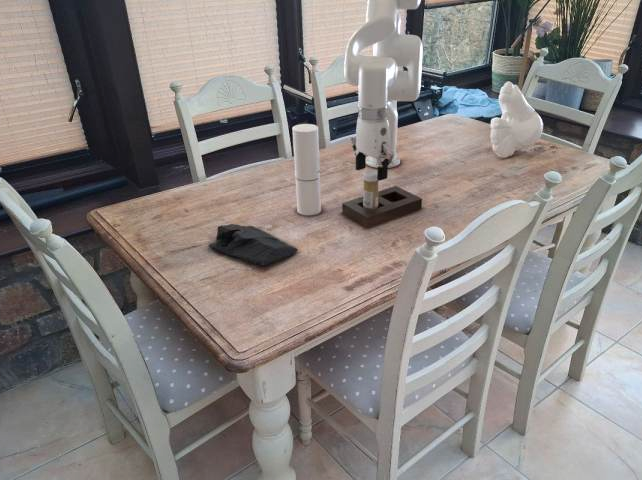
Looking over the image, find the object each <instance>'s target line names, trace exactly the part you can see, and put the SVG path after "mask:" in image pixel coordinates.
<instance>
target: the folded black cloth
mask: <svg viewBox="0 0 642 480" xmlns="http://www.w3.org/2000/svg"><path fill="white" fill-rule="evenodd" d="M216 229H217V231H216V232H217V233H216V237H215V241H212V242H211V243H210V244H208V248H211V250H216V251H218V252H220V253H223V255H227V256H230V257H235V258H238V259H240V260H243V261H245V262H246V261H247V262H249V263H251V264H255V265H256V266H259V265H261V266H267V265H269V264H272V263H274V262H276V261H279V260H282V259H285V258H287V257H290V256H293V255H294V254H295V253H296V252H297V251H299V249H298V248H297V247H294V246H292V245H289V244H287V243H286V242H284V241H282V240H280V239H278V238H277V237H276V236H273V235H272V234H270V233H269V232H266V231H264V230H261V229H260V228H258V227H255V226H254V225H240V224H235V223H230V224H225V225H218V226H217V228H216Z"/></svg>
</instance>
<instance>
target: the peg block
mask: <svg viewBox="0 0 642 480" xmlns="http://www.w3.org/2000/svg"><path fill="white" fill-rule="evenodd" d="M422 206H423V198H422V197H420V196H418V195H415V194H414V193H413V192H410V191H408V190H405V189H403V188H402V187H399V186H397V185H394V186H390V187H388V188H385V189H382V190H378V208H377V209H374V210H371V211H368V210H366V209H364V205H363V196H360V197H357V198H354V199H351V200H348V201H344V202H342V203H341V212H342V215H344V216H346V217H347V218H349V219H351V220H352V221H353V222H355V223H357V224H359V225H360V226H362V227H364V228H366V229H370V228H372V227H376V226H379V225H381V224H383V223H387V222H390V221H392V220H395V219H397V218H401V217H404V216H406V215H409V214H411V213H414V212H417V211H421V210H422Z"/></svg>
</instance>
